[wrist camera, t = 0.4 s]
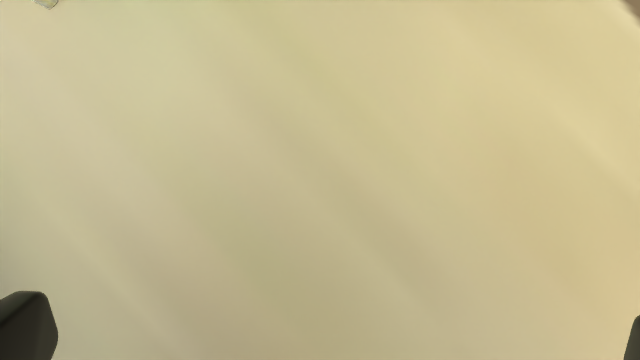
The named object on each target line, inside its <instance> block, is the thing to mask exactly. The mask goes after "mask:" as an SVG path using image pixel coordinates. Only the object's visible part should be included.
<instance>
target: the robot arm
mask: <svg viewBox="0 0 640 360" xmlns="http://www.w3.org/2000/svg"><path fill="white" fill-rule="evenodd" d="M57 342H58V330H57V327H56V323H55V320H54V317H53V314H52V311H51V307H50V304H49V301H48V298H47V297H46V295H45V294H44V293H42V292H36V291H18V292H15V293H13V294H11V295H9V296H7V297H5V298H3V299H1V300H0V360H51V358H52V356H53V354H54V351H55V349H56V346H57ZM624 360H640V315H639V316H637V317H636V319H635V320H634V322H633V325H632V329H631V333H630V336H629V340H628V344H627V347H626V351H625V354H624Z"/></svg>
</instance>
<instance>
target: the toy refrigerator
mask: <svg viewBox="0 0 640 360" xmlns="http://www.w3.org/2000/svg"><path fill="white" fill-rule="evenodd" d="M32 1H34V2H36V3H37V4H39V5H41V6H43V7H45V8H47V9H51V8H52V7H53V6H54V5H55V4H56V3H57V1H58V0H32Z"/></svg>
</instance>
